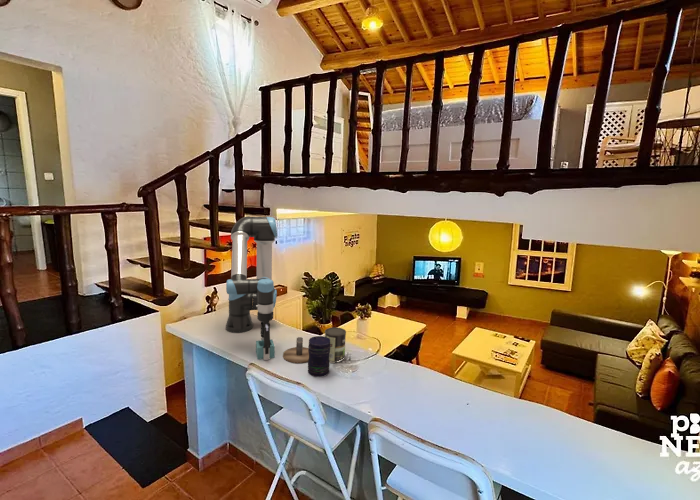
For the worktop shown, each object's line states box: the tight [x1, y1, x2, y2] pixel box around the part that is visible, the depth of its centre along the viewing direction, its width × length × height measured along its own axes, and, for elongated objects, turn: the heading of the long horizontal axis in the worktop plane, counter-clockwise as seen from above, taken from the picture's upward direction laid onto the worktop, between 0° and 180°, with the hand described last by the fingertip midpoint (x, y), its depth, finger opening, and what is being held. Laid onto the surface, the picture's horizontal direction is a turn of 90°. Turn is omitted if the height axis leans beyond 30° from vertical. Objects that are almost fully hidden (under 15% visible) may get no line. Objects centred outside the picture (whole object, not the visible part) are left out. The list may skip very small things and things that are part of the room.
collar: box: [255, 338, 276, 360], centre depth 174 cm, size 8×8×6 cm
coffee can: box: [324, 327, 347, 364], centre depth 173 cm, size 10×10×14 cm
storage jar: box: [307, 335, 330, 378], centre depth 160 cm, size 10×10×15 cm
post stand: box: [282, 336, 309, 364], centre depth 175 cm, size 16×16×9 cm
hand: (265, 354), depth 174 cm, fingers open, 10 cm apart
